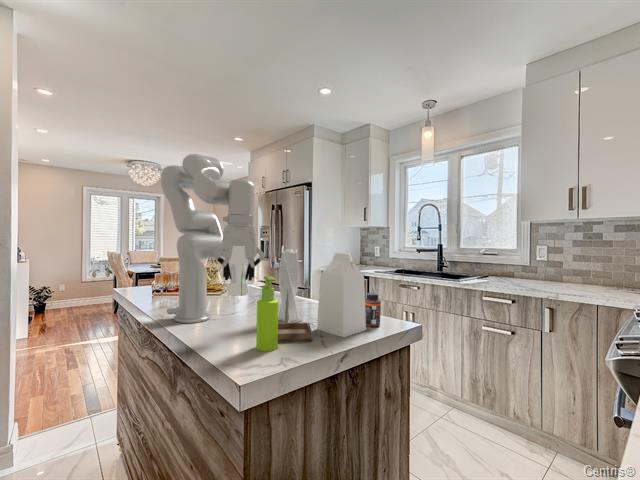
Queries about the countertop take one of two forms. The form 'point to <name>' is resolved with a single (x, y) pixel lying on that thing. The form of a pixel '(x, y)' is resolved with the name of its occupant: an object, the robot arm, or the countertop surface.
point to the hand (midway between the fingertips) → (238, 279)
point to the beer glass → (238, 271)
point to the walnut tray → (294, 332)
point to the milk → (341, 297)
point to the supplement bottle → (372, 310)
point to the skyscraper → (288, 286)
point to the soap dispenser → (267, 318)
